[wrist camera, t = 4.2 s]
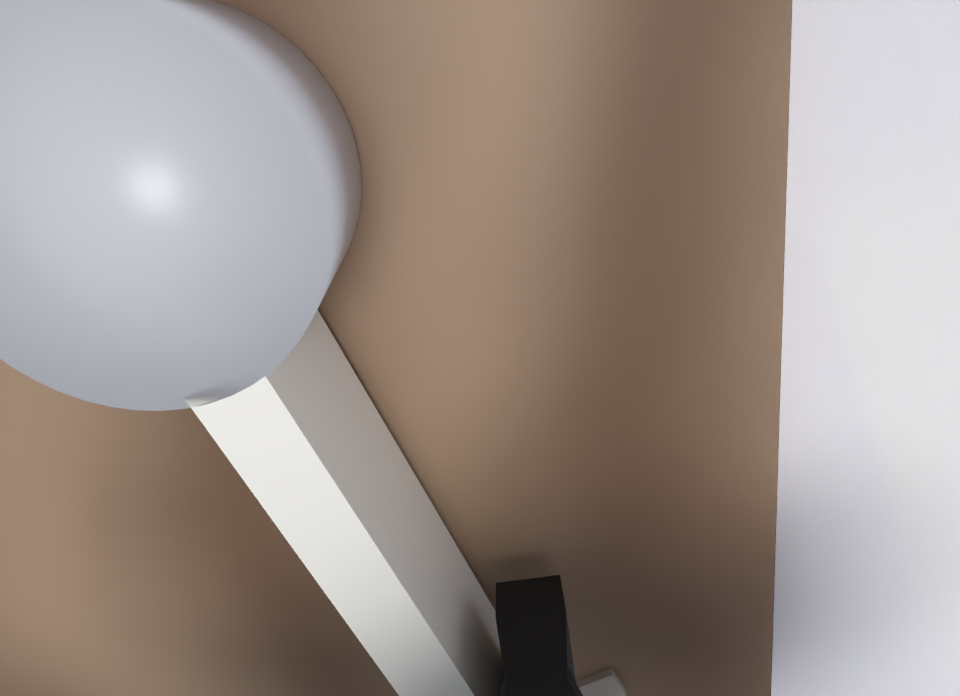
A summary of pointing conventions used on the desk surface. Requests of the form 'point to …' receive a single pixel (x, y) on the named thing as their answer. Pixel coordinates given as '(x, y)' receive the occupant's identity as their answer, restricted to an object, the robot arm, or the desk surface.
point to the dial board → (473, 366)
